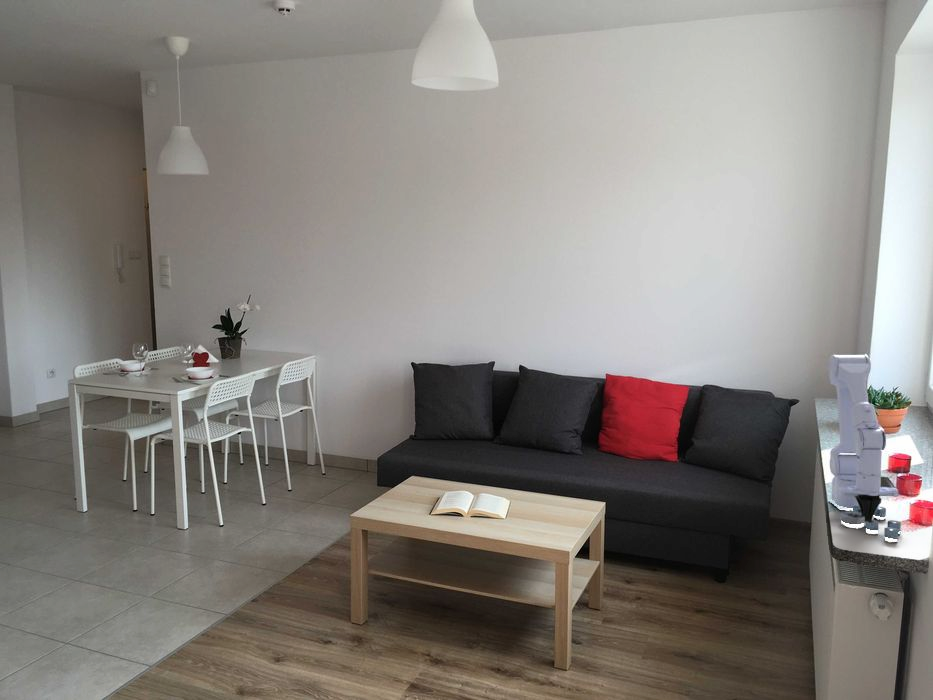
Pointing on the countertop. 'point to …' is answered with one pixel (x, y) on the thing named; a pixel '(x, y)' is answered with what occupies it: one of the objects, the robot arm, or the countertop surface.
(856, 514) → the hex nut
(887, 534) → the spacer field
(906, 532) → the countertop surface
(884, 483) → the phone
